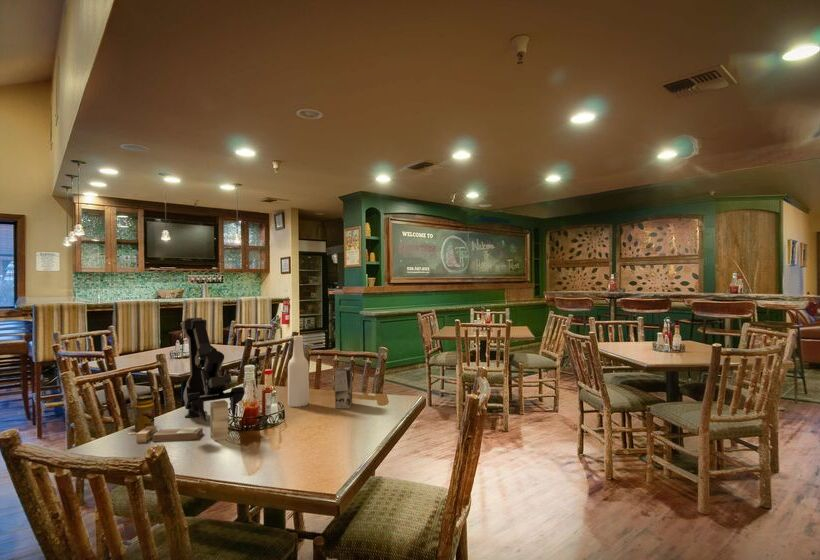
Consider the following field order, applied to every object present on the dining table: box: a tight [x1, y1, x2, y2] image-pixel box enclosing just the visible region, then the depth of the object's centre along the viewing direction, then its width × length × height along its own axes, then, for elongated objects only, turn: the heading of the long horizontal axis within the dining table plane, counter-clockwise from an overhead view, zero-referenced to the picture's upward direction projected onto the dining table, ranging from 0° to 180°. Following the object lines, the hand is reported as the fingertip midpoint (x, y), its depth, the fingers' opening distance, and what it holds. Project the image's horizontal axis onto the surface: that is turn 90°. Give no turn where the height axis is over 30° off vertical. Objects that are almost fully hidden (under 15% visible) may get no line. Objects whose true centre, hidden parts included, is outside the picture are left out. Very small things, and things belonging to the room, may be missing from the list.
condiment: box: [127, 394, 156, 435], centre depth 159 cm, size 7×8×12 cm
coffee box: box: [334, 366, 353, 409], centre depth 191 cm, size 9×6×16 cm
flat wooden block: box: [152, 426, 204, 442], centre depth 151 cm, size 6×14×2 cm, turn 98°
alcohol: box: [287, 335, 310, 408], centre depth 193 cm, size 9×9×30 cm
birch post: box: [209, 399, 229, 441], centre depth 151 cm, size 4×4×12 cm
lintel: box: [135, 425, 157, 443], centre depth 151 cm, size 8×3×3 cm, turn 8°
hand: (220, 418), depth 150 cm, fingers open, 9 cm apart
